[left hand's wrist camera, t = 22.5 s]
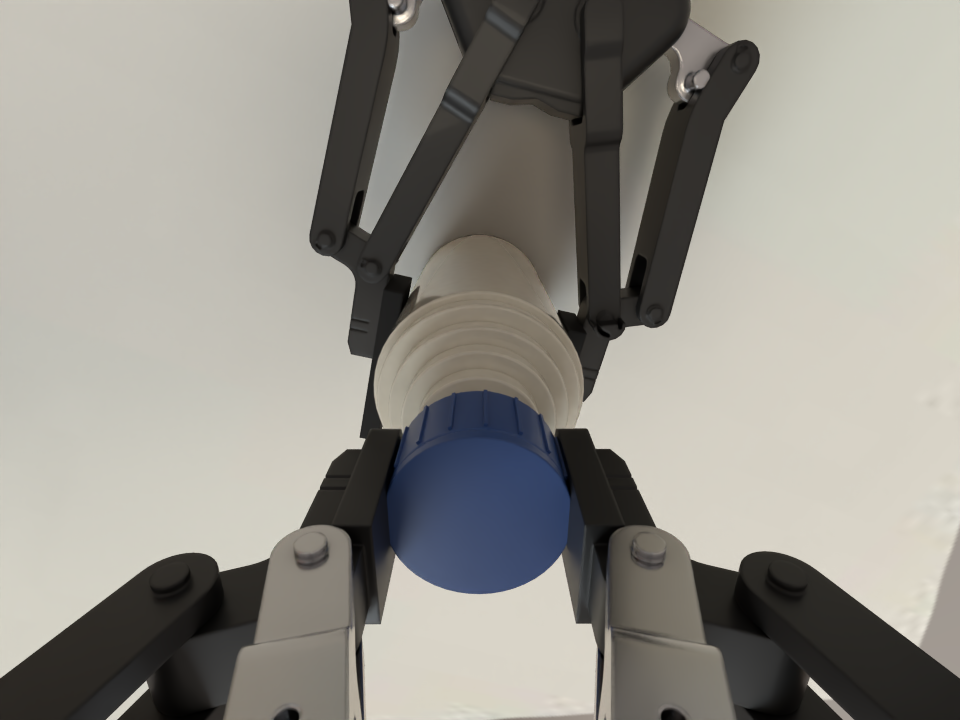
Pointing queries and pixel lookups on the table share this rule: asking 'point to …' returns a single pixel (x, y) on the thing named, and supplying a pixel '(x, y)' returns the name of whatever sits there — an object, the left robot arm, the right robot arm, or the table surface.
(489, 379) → the bottle
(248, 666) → the left robot arm
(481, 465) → the cap
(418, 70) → the table surface
